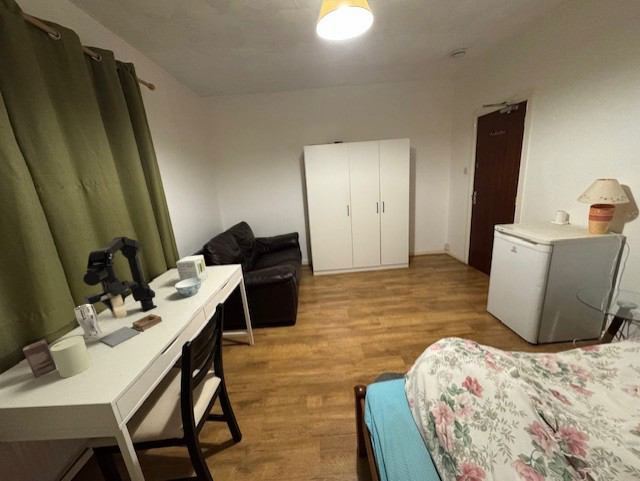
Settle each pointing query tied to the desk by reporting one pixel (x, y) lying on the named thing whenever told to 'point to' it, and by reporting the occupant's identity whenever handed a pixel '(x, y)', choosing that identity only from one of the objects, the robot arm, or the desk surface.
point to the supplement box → (192, 268)
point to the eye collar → (140, 323)
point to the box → (39, 358)
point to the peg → (117, 306)
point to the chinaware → (188, 286)
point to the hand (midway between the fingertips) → (117, 309)
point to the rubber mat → (119, 336)
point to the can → (71, 356)
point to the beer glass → (87, 320)
